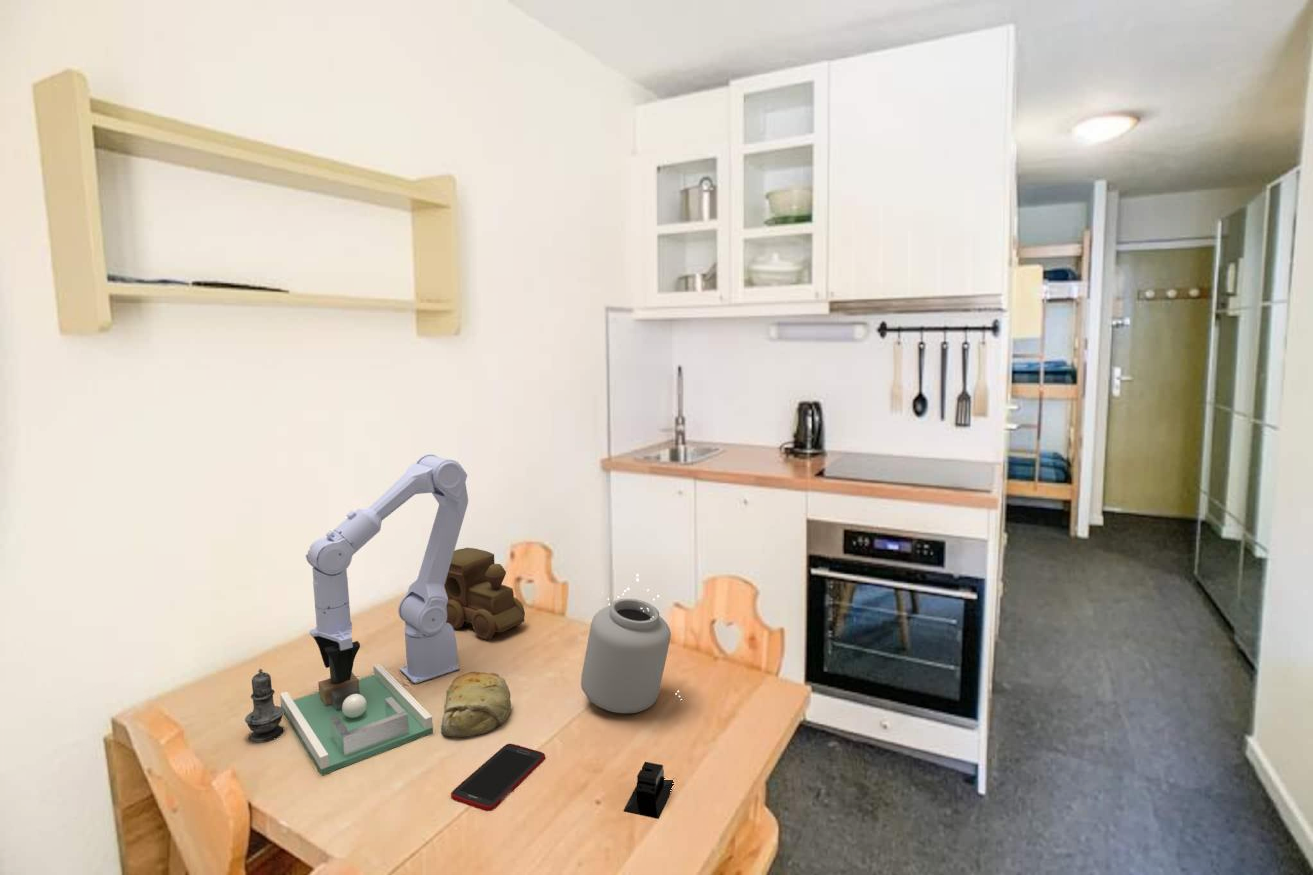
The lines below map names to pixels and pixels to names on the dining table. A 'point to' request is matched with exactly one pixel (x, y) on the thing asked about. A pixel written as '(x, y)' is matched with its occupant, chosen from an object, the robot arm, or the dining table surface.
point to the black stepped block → (650, 792)
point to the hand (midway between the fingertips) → (337, 673)
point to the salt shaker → (264, 711)
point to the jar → (625, 656)
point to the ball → (354, 705)
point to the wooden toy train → (480, 594)
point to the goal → (370, 730)
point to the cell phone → (497, 777)
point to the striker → (337, 689)
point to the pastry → (475, 704)
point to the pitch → (353, 720)
